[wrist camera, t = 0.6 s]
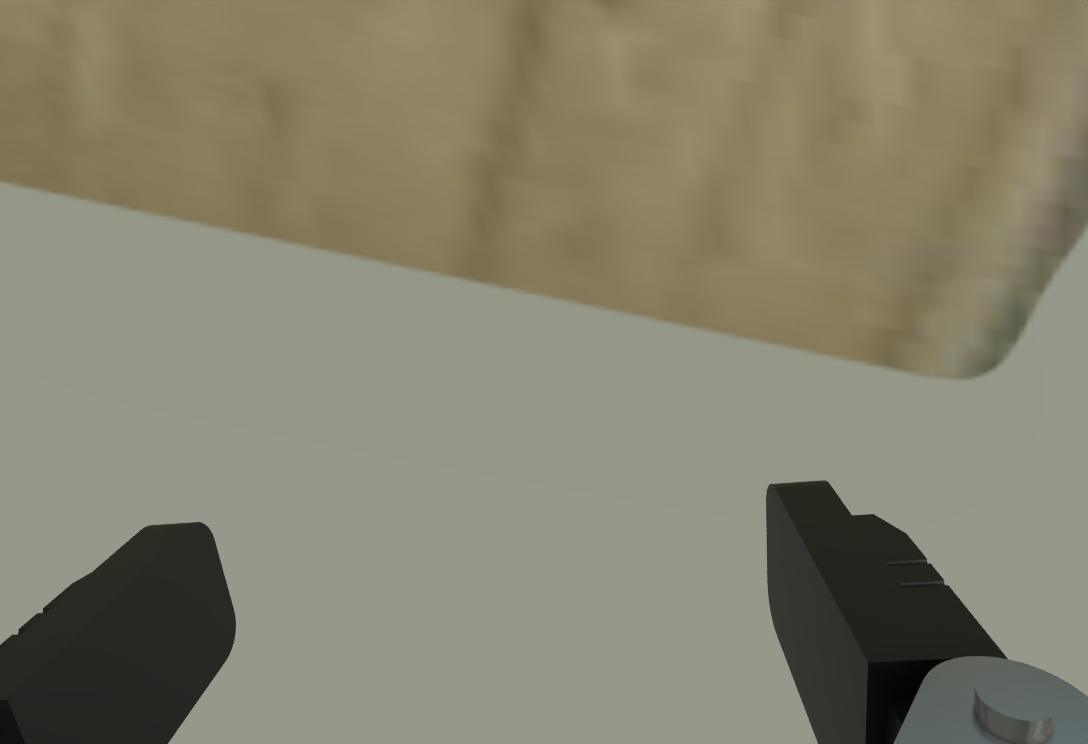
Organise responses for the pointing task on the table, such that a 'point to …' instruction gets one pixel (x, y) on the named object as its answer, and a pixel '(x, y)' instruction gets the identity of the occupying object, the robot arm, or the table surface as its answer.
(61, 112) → the table surface
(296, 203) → the table surface
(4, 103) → the table surface
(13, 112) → the table surface
